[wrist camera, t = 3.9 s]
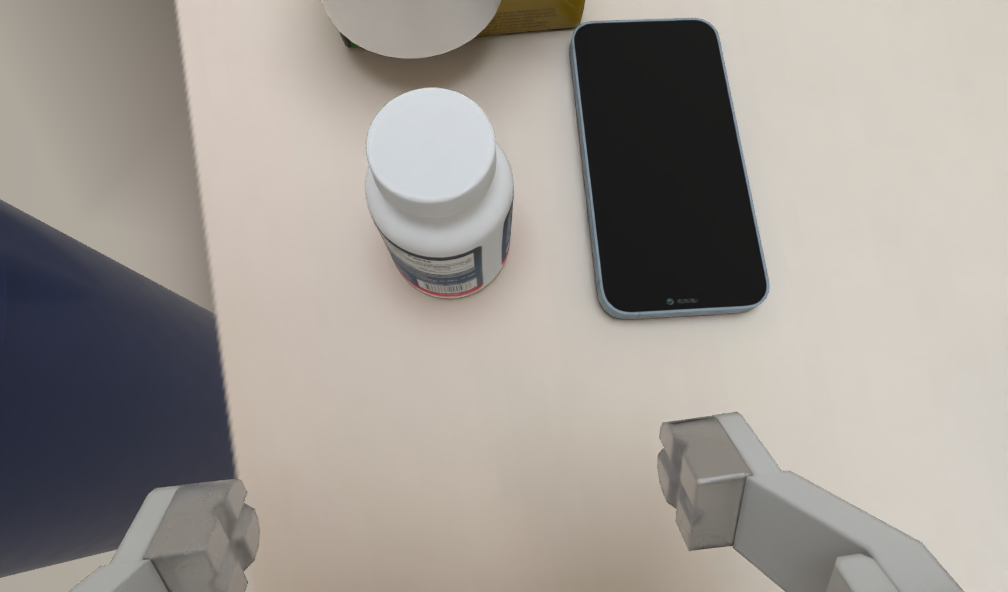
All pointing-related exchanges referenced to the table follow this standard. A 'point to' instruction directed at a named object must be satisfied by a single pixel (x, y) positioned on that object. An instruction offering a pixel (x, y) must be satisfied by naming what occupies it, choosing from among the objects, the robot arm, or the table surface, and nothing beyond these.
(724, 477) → the robot arm
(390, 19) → the mug
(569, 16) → the medication box
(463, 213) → the pill bottle
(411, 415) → the table surface
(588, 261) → the table surface
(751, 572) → the table surface
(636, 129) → the smartphone
